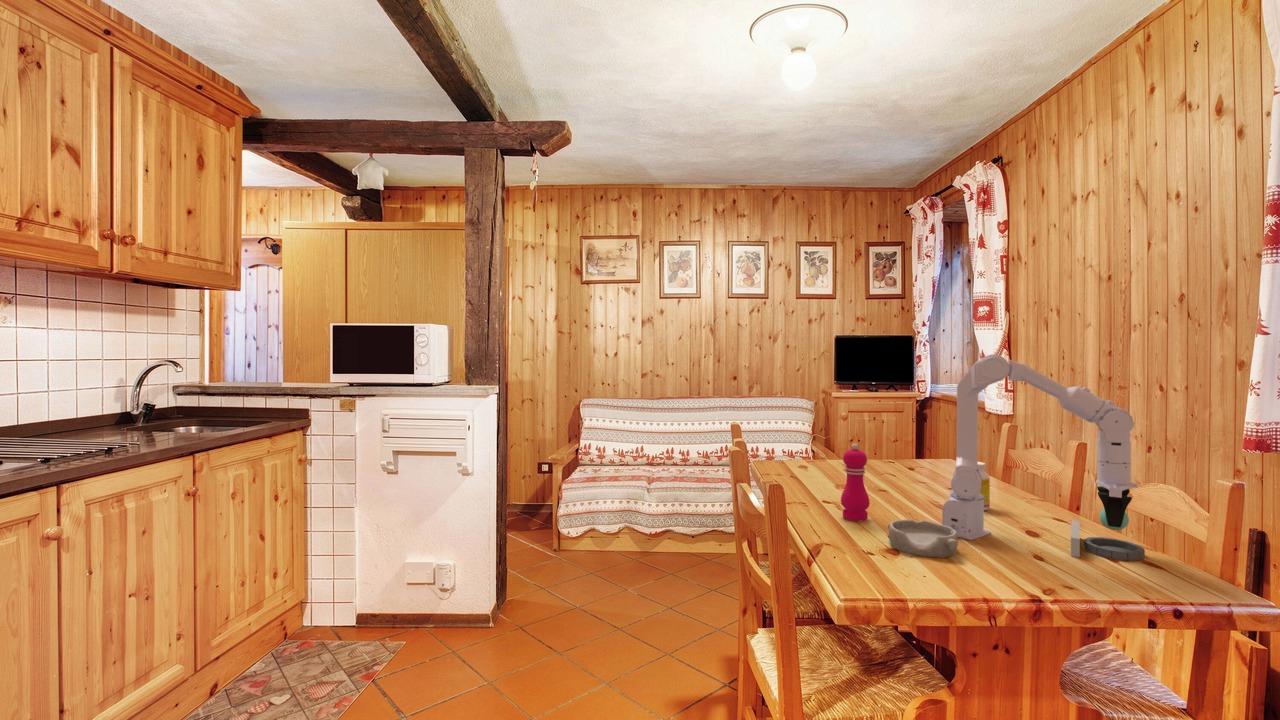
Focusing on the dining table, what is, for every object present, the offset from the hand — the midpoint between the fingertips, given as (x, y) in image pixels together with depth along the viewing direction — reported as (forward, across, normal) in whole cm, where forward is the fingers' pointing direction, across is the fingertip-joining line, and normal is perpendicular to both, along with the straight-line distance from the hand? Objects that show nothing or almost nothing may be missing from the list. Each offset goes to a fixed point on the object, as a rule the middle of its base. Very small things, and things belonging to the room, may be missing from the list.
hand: (1113, 523), depth 126 cm
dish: (+7, -21, +34) cm, 41 cm away
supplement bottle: (+7, +23, +29) cm, 38 cm away
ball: (-1, 0, 0) cm, 1 cm away
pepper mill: (+6, -6, +54) cm, 54 cm away
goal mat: (+6, 0, 0) cm, 7 cm away
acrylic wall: (+6, 0, +7) cm, 9 cm away
